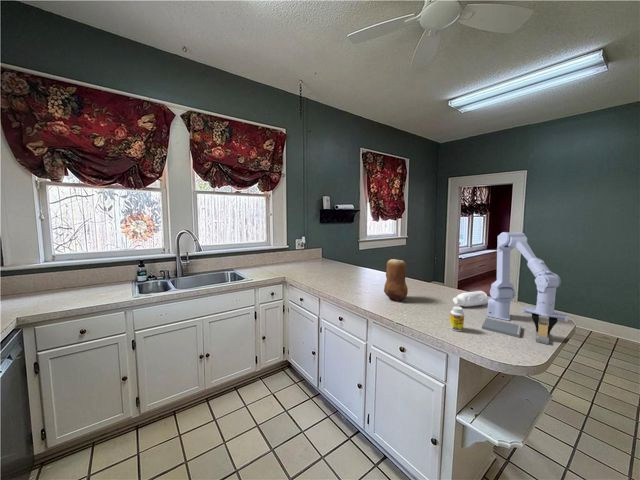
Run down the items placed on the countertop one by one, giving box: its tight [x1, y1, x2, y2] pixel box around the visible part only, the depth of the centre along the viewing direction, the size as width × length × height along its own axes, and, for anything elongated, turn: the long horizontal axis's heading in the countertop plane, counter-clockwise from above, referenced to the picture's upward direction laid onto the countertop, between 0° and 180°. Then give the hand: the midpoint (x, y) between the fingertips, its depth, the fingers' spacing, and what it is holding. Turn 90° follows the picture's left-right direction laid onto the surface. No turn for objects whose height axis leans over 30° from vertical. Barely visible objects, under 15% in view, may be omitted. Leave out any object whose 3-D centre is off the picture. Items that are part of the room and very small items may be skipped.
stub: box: [535, 320, 550, 345], centre depth 113 cm, size 4×12×6 cm, turn 140°
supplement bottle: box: [449, 305, 465, 332], centre depth 121 cm, size 6×6×10 cm
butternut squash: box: [383, 258, 409, 301], centre depth 161 cm, size 14×13×25 cm
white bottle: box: [452, 290, 489, 308], centre depth 151 cm, size 8×19×8 cm, turn 105°
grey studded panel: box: [481, 317, 522, 339], centre depth 122 cm, size 14×12×1 cm
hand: (542, 332), depth 113 cm, fingers closed on stub, 3 cm apart
